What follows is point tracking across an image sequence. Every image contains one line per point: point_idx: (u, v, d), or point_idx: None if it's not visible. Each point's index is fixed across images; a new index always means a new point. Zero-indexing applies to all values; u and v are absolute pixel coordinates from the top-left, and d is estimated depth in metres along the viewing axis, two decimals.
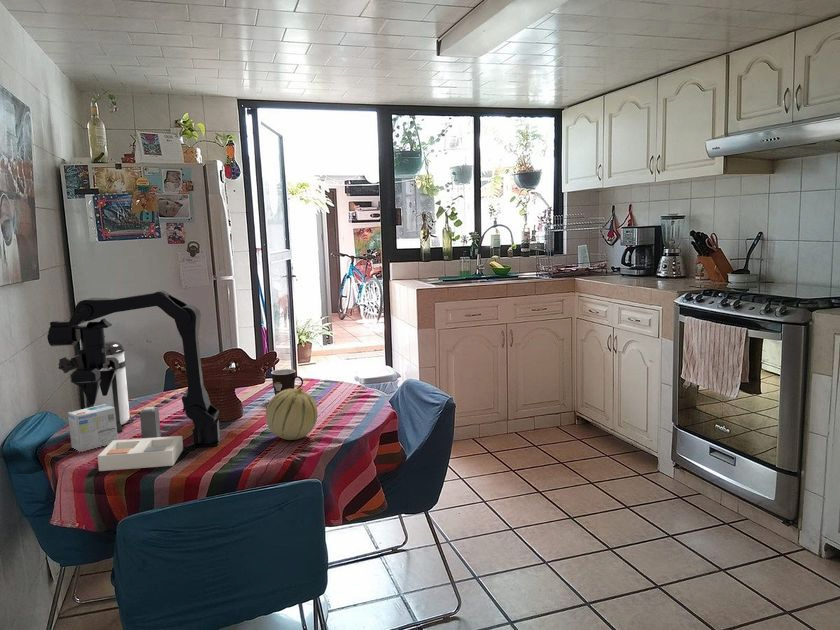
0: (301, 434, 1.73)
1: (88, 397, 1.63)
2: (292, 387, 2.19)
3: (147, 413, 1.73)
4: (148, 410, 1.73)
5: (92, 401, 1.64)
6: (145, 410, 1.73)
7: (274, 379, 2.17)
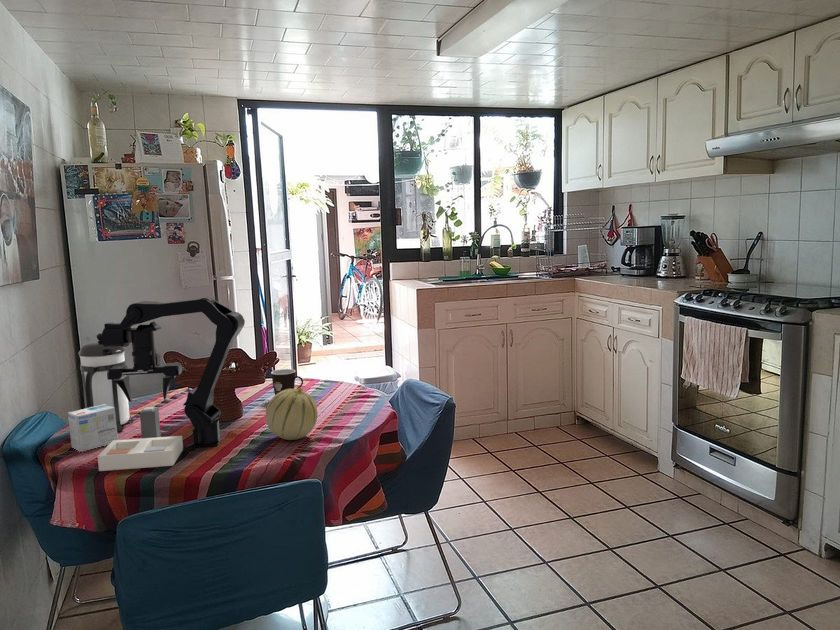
0: (301, 434, 1.73)
1: None
2: (292, 387, 2.19)
3: (147, 413, 1.73)
4: (148, 410, 1.73)
5: None
6: (145, 410, 1.73)
7: (274, 379, 2.17)
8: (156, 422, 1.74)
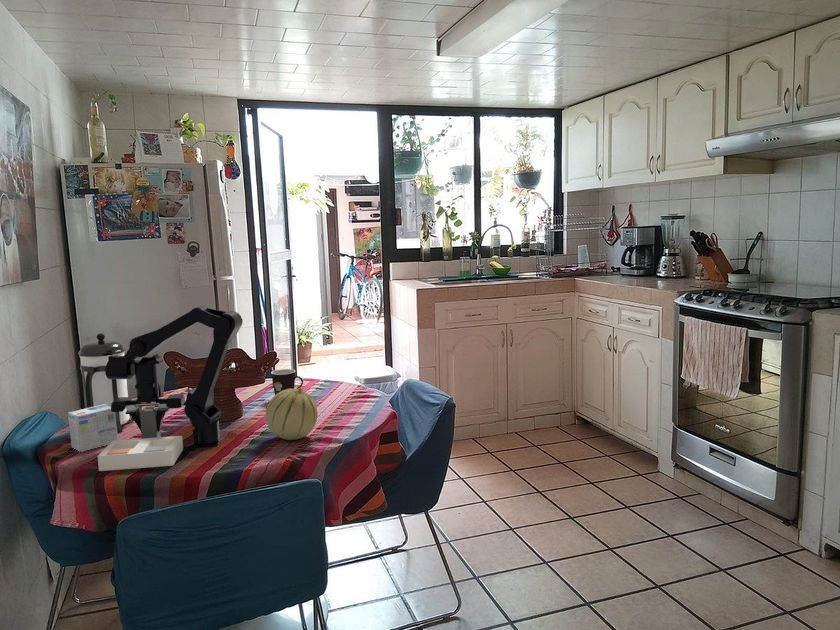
0: (301, 434, 1.73)
1: None
2: (292, 387, 2.19)
3: (147, 413, 1.73)
4: (148, 410, 1.73)
5: None
6: (145, 410, 1.73)
7: (274, 379, 2.17)
8: (156, 422, 1.74)
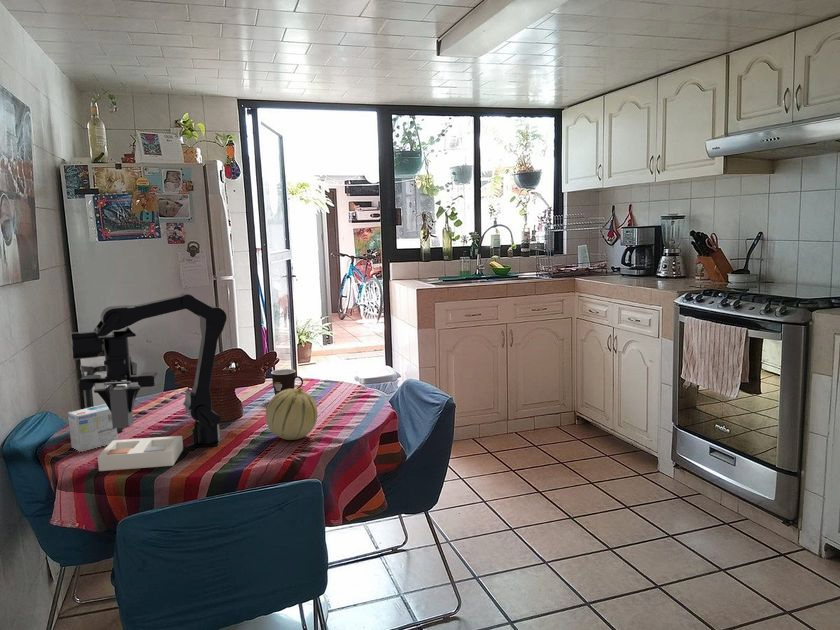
0: (301, 434, 1.73)
1: None
2: (292, 387, 2.19)
3: (117, 392, 1.59)
4: (119, 389, 1.60)
5: None
6: (115, 389, 1.60)
7: (274, 379, 2.17)
8: (127, 402, 1.61)
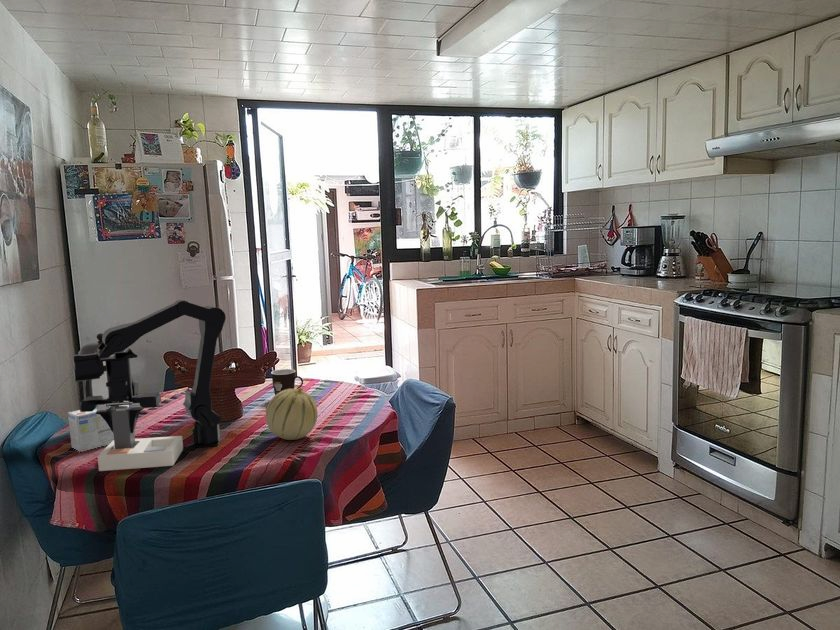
0: (301, 434, 1.73)
1: None
2: (292, 387, 2.19)
3: (119, 413, 1.60)
4: (121, 410, 1.61)
5: None
6: (117, 410, 1.61)
7: (274, 379, 2.17)
8: (129, 422, 1.62)
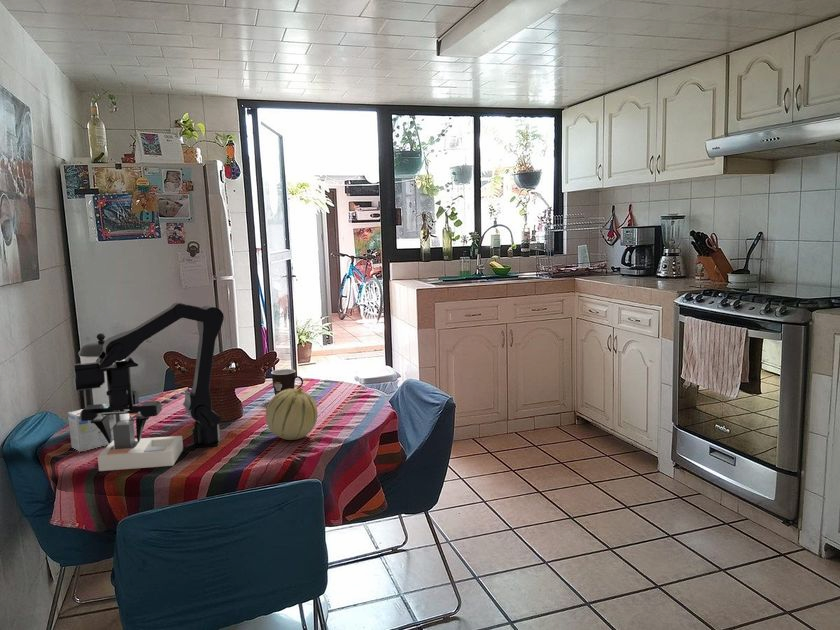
0: (301, 434, 1.73)
1: None
2: (292, 387, 2.19)
3: (120, 427, 1.60)
4: (122, 424, 1.61)
5: None
6: (118, 424, 1.61)
7: (274, 379, 2.17)
8: (131, 437, 1.62)
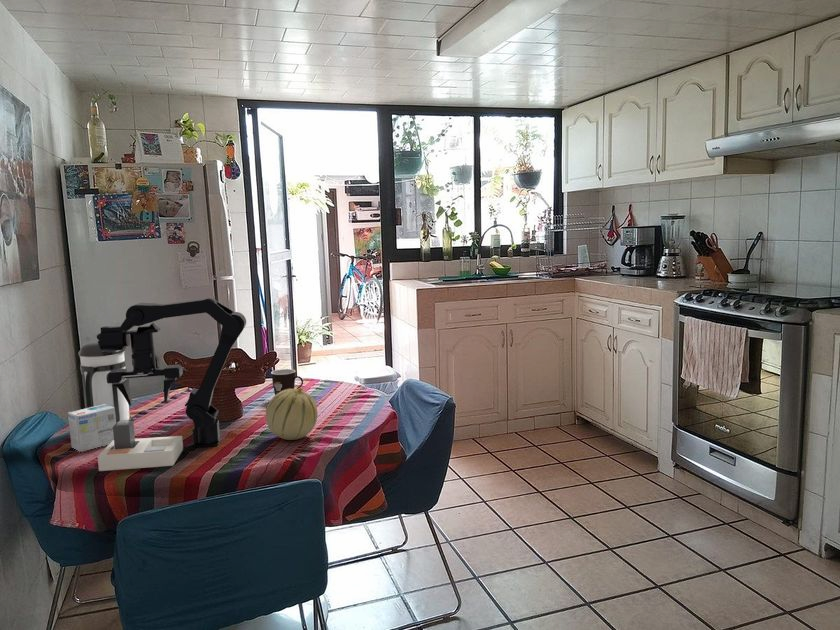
0: (301, 434, 1.73)
1: None
2: (292, 387, 2.19)
3: (120, 427, 1.60)
4: (122, 424, 1.61)
5: None
6: (119, 424, 1.61)
7: (274, 379, 2.17)
8: (131, 437, 1.62)
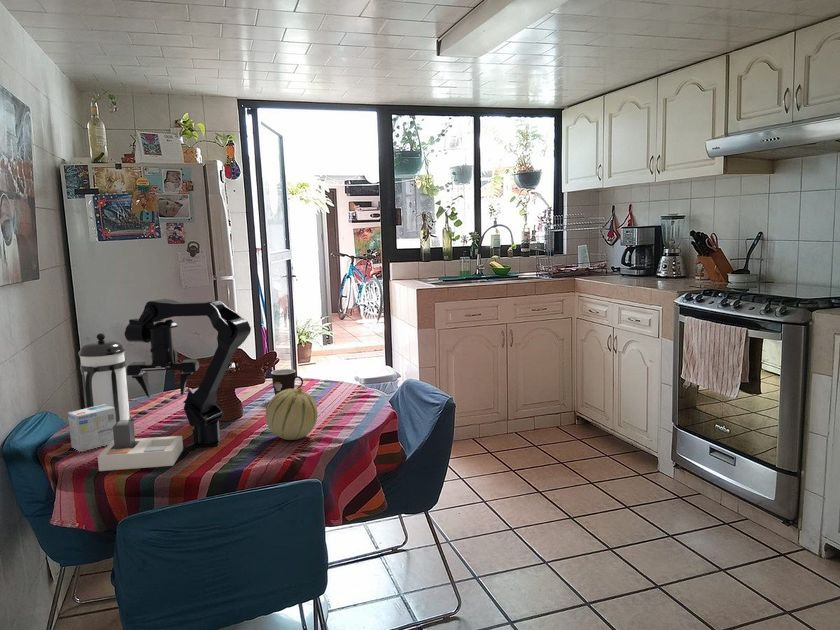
0: (301, 434, 1.73)
1: None
2: (292, 387, 2.19)
3: (120, 427, 1.60)
4: (122, 424, 1.61)
5: None
6: (118, 424, 1.61)
7: (274, 379, 2.17)
8: (131, 437, 1.62)
